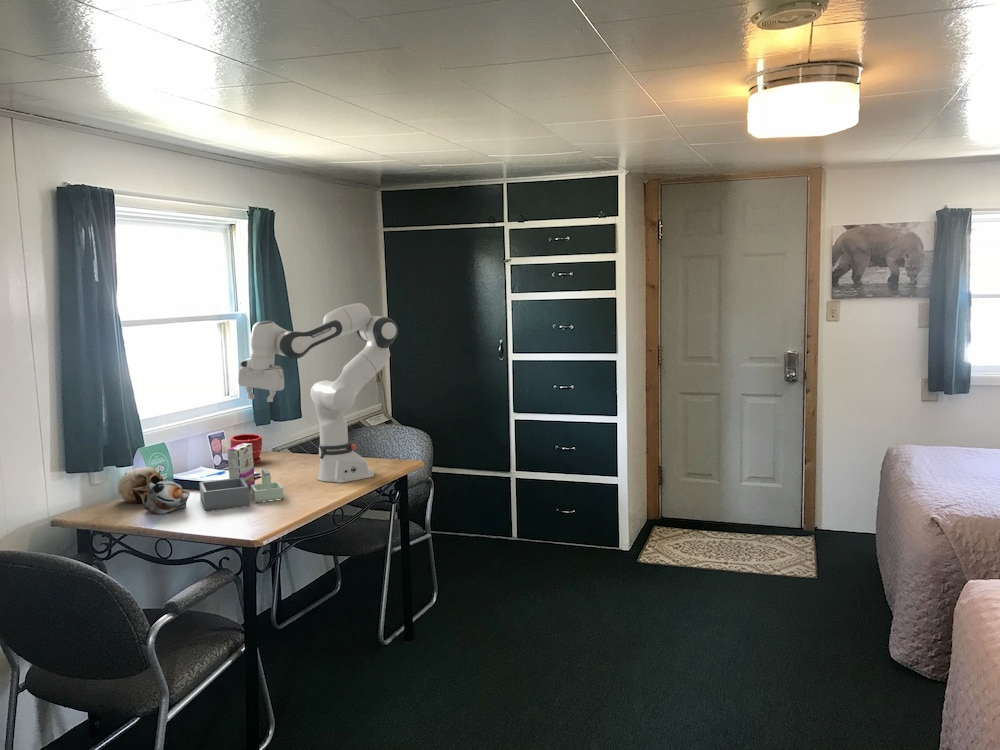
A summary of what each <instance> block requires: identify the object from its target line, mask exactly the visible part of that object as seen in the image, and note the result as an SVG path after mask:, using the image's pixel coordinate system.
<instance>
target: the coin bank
mask: <svg viewBox="0 0 1000 750" xmlns="http://www.w3.org/2000/svg"><path fill="white" fill-rule="evenodd" d="M162 481H165V479H164V478H163V476H162V475H161V473H160V472H159V471H157V470H156V469H155V468H153V467H151V466H142V467H137V468H133V469H130V470H128V471H127V472H124V473H123V474H122V475H121V476H120V479H118V481H117V482H118V483H117V492H118V495H119V497H120V498H121V499H122V500H124V501H125V502H127V503H129V502H130V504H137V503H142V505H144V506H145V502H144V498H145V495H146V494H147V492H148V485H149V484H150V483H153V484H157V483H158V482H162Z"/></svg>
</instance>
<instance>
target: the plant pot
mask: <svg viewBox="0 0 1000 750" xmlns="http://www.w3.org/2000/svg"><path fill="white" fill-rule="evenodd" d="M262 438H263V437H262V435H260V434H257V433H255V434H254V433H244V434H243V433H242V434H238V435H237V434H236V435H234V436H232V437H230V441H229V442H230V448H232V447H235V446H237V445H239V444H242V443H248V444H252V447H253V463H254V465H257V464H259V463H260V461H261V460H262V459H261V457H260V456H261V452H262V448H263V439H262Z"/></svg>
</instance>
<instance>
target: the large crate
mask: <svg viewBox="0 0 1000 750" xmlns="http://www.w3.org/2000/svg"><path fill="white" fill-rule="evenodd" d="M249 490H250V489H249V487H248V486H247V484H246V483H245V481H244V480H243V478H234V479H229V478H226V479H218V480H217V479H216V480H209V481H200V482H199V494H200V495H199V497H200V502H201V506H202V507H203V510H204V512H205V511H207V512H213V511H212V510H214V511H220V510H219V509H222V510H228V509H227V508H230V509H236V508H235V507H238V508H244V507H243V506H246V507H249V506H250V494H249V493H250V491H249Z"/></svg>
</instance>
